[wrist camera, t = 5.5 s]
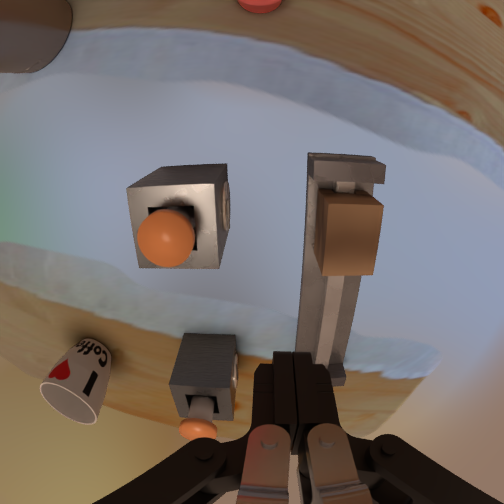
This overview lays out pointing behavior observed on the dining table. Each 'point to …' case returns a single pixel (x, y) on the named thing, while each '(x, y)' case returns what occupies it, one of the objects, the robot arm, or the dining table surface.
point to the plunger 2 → (199, 419)
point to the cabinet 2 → (206, 373)
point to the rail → (312, 282)
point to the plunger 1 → (167, 235)
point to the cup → (79, 382)
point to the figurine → (260, 5)
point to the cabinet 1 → (186, 194)
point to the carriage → (347, 232)
